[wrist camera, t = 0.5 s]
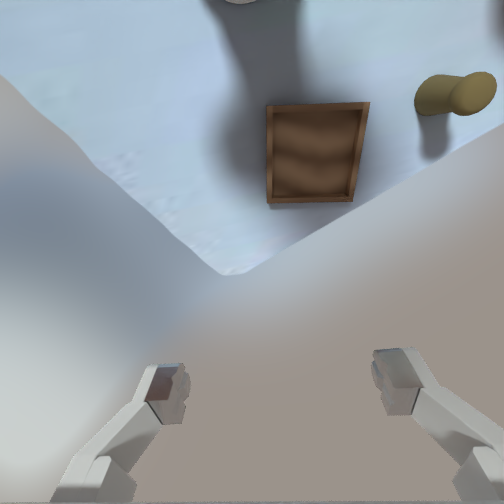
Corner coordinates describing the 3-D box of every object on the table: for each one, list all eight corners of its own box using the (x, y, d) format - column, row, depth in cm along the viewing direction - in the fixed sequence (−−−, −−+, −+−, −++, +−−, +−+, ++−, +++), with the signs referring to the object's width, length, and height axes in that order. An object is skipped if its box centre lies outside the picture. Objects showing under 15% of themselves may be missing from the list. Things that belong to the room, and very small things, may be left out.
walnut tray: (266, 105, 45) (266, 106, 42) (364, 102, 44) (370, 102, 41) (266, 198, 53) (266, 203, 51) (348, 196, 52) (352, 201, 50)
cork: (458, 94, 43) (514, 93, 33) (424, 123, 45) (467, 129, 36) (441, 65, 41) (495, 53, 31) (407, 96, 43) (447, 95, 34)
